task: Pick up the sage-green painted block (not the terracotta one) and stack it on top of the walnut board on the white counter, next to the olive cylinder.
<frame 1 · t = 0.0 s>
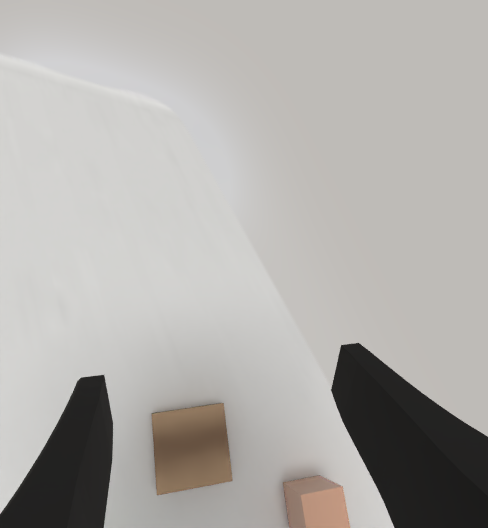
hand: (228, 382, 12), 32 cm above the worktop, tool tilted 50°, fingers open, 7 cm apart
terracotta block: (304, 500, 41), on the worktop
walnut board: (190, 444, 41), on the worktop
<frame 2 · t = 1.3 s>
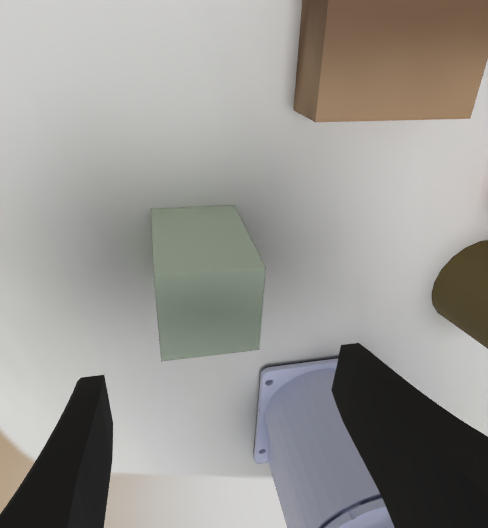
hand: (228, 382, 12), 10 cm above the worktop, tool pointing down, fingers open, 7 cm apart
sage block: (194, 243, 20), on the worktop
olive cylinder: (472, 279, 26), on the worktop
walnut board: (376, 20, 17), on the worktop
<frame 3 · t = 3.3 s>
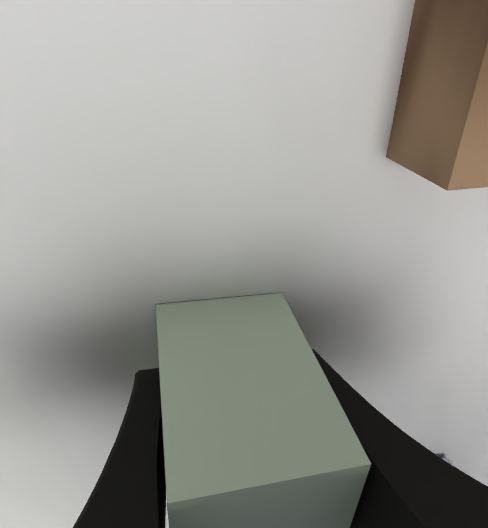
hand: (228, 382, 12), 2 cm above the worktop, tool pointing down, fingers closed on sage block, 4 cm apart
sage block: (220, 346, 14), on the worktop, touching gripper
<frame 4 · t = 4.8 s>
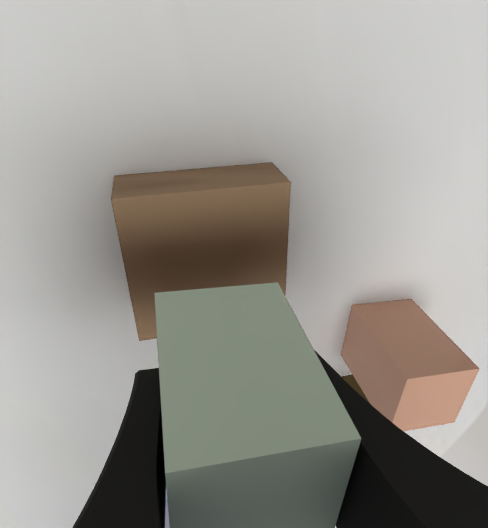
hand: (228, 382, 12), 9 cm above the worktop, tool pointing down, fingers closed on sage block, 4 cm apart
terracotta block: (375, 327, 26), on the worktop
sage block: (217, 335, 14), point 7 cm above the worktop, touching gripper
walnut board: (200, 235, 20), on the worktop
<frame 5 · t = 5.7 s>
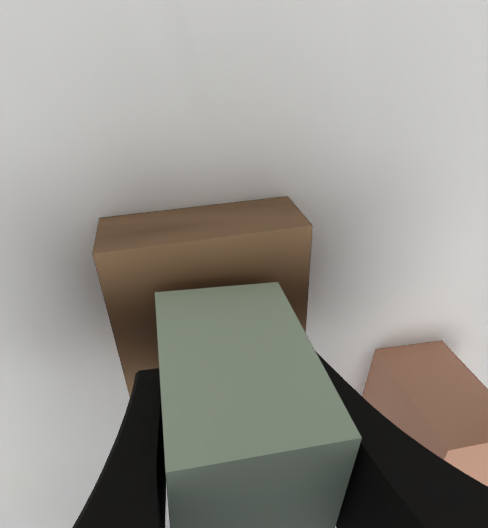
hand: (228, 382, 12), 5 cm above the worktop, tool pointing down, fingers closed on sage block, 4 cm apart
terracotta block: (400, 371, 23), on the worktop
sage block: (217, 335, 14), point 3 cm above the worktop, touching gripper
walnut board: (203, 280, 17), on the worktop
when the fingers open (5 cm above the worktop, at t = 6.3 s): sage block stays where it is, resting on walnut board.
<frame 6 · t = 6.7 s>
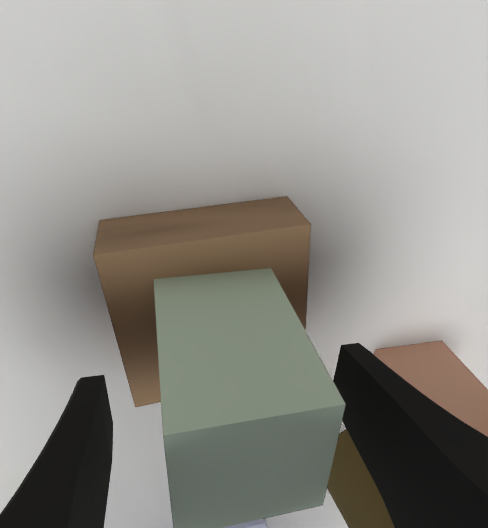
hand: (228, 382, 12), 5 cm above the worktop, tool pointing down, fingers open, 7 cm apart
terracotta block: (400, 371, 23), on the worktop
sage block: (214, 320, 15), point 3 cm above the worktop, touching walnut board
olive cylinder: (358, 449, 26), on the worktop
walnut board: (204, 279, 17), on the worktop, touching sage block
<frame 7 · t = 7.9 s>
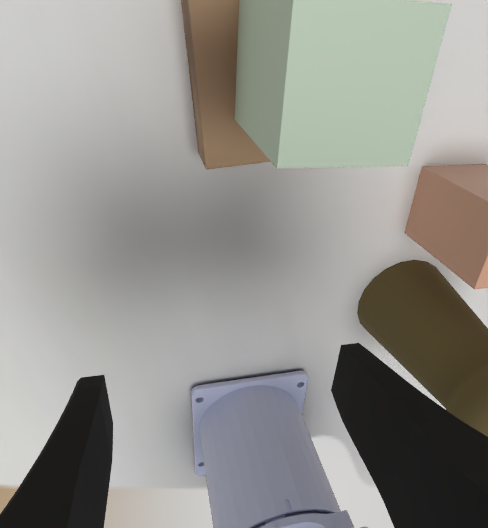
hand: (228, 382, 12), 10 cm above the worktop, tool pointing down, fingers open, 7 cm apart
terracotta block: (443, 199, 23), on the worktop
sage block: (288, 65, 15), point 3 cm above the worktop, touching walnut board
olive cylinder: (398, 297, 27), on the worktop
walnut board: (266, 61, 18), on the worktop, touching sage block
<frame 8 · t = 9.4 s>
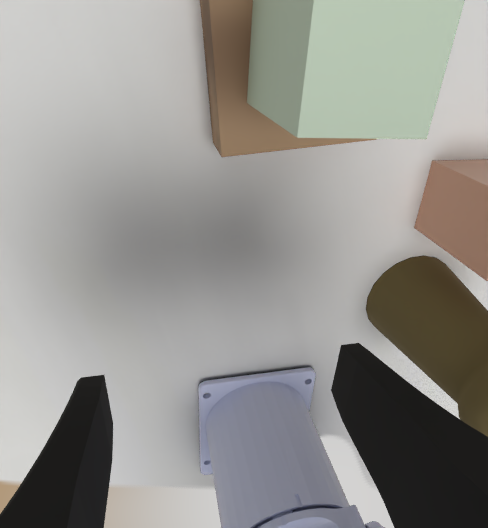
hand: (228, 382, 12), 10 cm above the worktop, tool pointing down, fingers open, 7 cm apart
terracotta block: (453, 194, 23), on the worktop
sage block: (301, 48, 15), point 2 cm above the worktop, touching walnut board
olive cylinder: (407, 294, 27), on the worktop
walnut board: (281, 52, 18), on the worktop, touching sage block
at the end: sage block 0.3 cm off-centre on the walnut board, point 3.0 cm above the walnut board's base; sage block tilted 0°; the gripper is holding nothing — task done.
